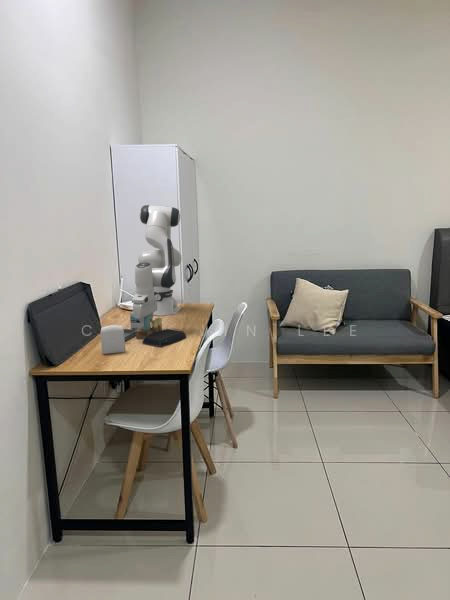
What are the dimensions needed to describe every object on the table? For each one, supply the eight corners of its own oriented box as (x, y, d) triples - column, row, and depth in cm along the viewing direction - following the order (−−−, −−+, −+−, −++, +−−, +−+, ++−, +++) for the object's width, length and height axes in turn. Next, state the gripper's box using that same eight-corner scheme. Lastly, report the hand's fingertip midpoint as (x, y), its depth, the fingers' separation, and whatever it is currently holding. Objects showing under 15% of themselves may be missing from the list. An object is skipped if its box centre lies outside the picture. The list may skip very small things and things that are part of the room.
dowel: (145, 336, 230) (144, 314, 227) (151, 336, 229) (150, 315, 227) (142, 338, 226) (140, 316, 224) (148, 338, 225) (147, 316, 223)
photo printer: (101, 354, 201) (99, 327, 198) (101, 351, 205) (99, 325, 202) (125, 352, 203) (124, 325, 201) (125, 349, 207) (123, 323, 205)
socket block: (143, 334, 232) (142, 327, 231) (157, 335, 230) (157, 327, 229) (135, 338, 225) (135, 331, 224) (150, 339, 223) (150, 331, 222)
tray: (122, 333, 235) (122, 328, 235) (138, 334, 233) (138, 329, 232) (109, 340, 222) (108, 335, 222) (125, 341, 220) (125, 336, 219)
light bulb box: (142, 334, 233) (141, 313, 231) (130, 333, 235) (129, 313, 233) (151, 329, 243) (150, 309, 241) (140, 328, 245) (138, 308, 243)
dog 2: (157, 330, 240) (156, 317, 238) (163, 330, 239) (162, 317, 238) (154, 332, 237) (154, 319, 235) (160, 332, 236) (160, 319, 235)
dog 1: (153, 333, 235) (152, 319, 234) (159, 333, 234) (158, 320, 233) (150, 334, 232) (150, 321, 231) (156, 335, 231) (156, 321, 230)
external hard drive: (140, 344, 217) (140, 336, 216) (168, 335, 232) (167, 327, 231) (161, 348, 209) (160, 340, 209) (187, 338, 225) (187, 330, 224)
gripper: (148, 292, 234) (149, 318, 237) (129, 300, 215) (131, 328, 218) (159, 292, 232) (160, 319, 235) (142, 300, 213) (143, 329, 216)
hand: (146, 323), depth 226 cm, fingers open, 7 cm apart
